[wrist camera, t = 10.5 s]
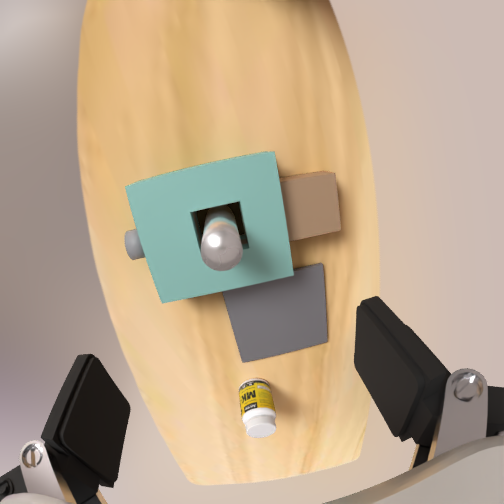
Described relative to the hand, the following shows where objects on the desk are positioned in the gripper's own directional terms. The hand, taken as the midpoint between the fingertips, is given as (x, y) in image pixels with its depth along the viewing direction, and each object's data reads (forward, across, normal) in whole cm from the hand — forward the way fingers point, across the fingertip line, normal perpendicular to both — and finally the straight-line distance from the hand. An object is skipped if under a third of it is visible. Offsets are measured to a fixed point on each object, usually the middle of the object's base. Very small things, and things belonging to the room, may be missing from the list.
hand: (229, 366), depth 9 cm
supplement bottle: (+22, +1, +26) cm, 34 cm away
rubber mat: (+22, -4, +14) cm, 26 cm away
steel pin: (+22, 0, 0) cm, 22 cm away
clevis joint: (+22, -1, 0) cm, 22 cm away
